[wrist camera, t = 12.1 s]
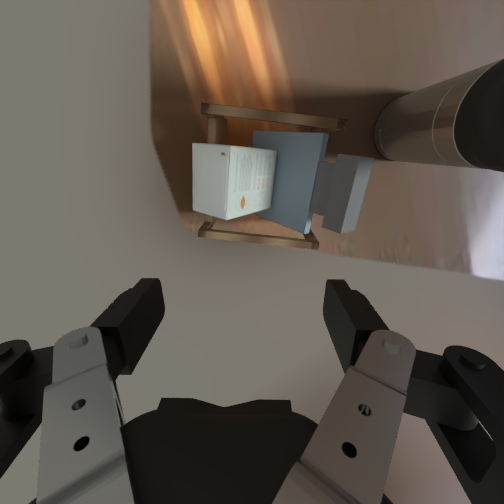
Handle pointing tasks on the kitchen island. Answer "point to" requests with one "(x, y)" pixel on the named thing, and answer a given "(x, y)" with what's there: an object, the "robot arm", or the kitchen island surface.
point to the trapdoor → (313, 182)
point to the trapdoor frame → (218, 137)
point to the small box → (232, 179)
